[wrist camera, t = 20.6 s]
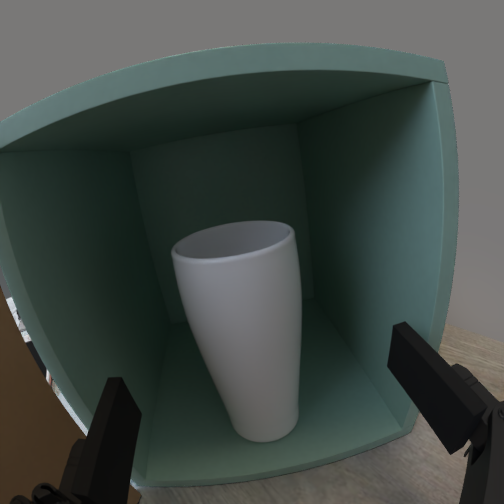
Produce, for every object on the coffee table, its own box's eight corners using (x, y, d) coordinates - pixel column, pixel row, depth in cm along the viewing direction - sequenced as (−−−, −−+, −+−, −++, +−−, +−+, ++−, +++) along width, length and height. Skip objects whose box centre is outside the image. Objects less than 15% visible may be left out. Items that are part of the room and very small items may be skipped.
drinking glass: (325, 427, 19) (323, 233, 14) (244, 467, 16) (183, 274, 11) (281, 380, 25) (260, 214, 20) (212, 408, 22) (160, 239, 17)
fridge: (411, 432, 17) (444, 60, 9) (137, 486, 15) (-25, 137, 7) (320, 299, 39) (301, 113, 32) (166, 328, 38) (121, 144, 30)
